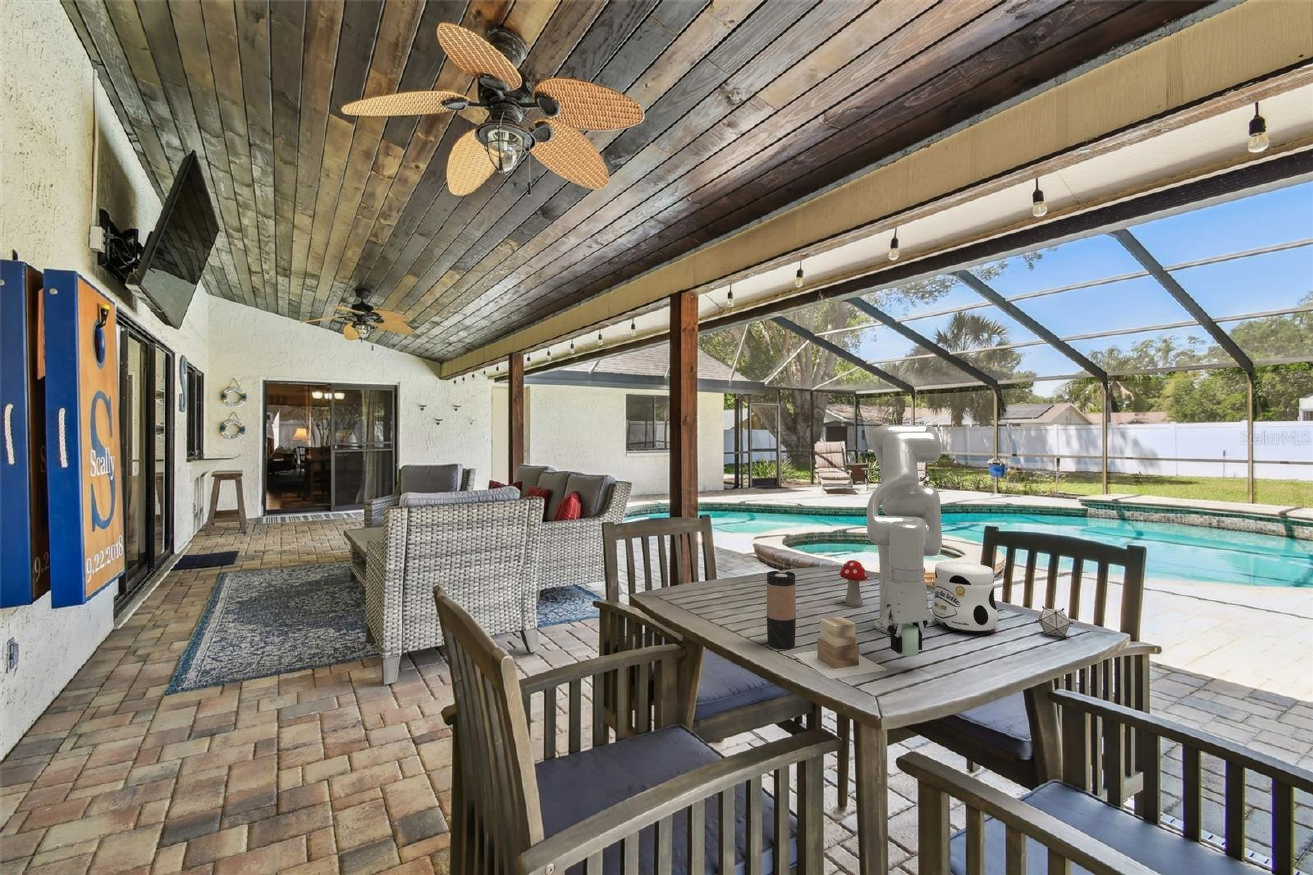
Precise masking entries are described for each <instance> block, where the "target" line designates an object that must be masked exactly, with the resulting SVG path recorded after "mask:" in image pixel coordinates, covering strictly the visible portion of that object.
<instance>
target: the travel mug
mask: <svg viewBox="0 0 1313 875" xmlns="http://www.w3.org/2000/svg"><path fill="white" fill-rule="evenodd" d="M796 596H797V595H796V573H794V572H793V571H785V572H779V571H778V570H771V571H768V572H766V631H767V632H766V635H767V645H768V646H769V647H770V648H772V649H776V650H783V651H784V650H792V649H794V648H795V646H796V624H797V622H796V621H797V619H796V617H797V615H796V614H797V613H796V612H797V611H796V610H797V607H796V606H797V605H796V602H797V601H796Z"/></svg>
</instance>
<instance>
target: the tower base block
mask: <svg viewBox="0 0 1313 875" xmlns="http://www.w3.org/2000/svg"><path fill="white" fill-rule="evenodd" d="M816 641H817V644H816V645H817V646H816V647H817V650H816V651H817V658H818V659H819V660H821V661H823V662H824V663H826V664H827V665H829V666H831V667H832V668H834V669H837V668H844V667H850V666H857V665H859V655H860V645H859V643H857V642H856V644H853V645H846V646H839V647H834V646H832V645H830V644H829V643H827V642H825V641H823V640H821V639H820V637H817V639H816Z"/></svg>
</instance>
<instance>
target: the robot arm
mask: <svg viewBox="0 0 1313 875" xmlns="http://www.w3.org/2000/svg"><path fill="white" fill-rule="evenodd" d="M870 437H871V439H870V440H871V448H872V451H873V453H874V456H875V458H876V461H877V463H878V466H879V470H880V485H879V486H878V487H877V488H876V489H875V490H874V491H873V493H872V494H871V496H870V498H869V500H868V502H867V506H866V533H867V537H868V540H869V541H870V543H872V544H874V545H876V546H877V550H878V561H879V562H878V563H879V619H877V620H875V621H874V625H873V627H874V628H875V629H876V631H879V632H880V633H884V634H887V635H890V650H891V651H893V652H894V653H896V652H897V653H899V654H898V655H900V653H902V637H901V636H900V633H901V629H902V625H903V624H911V625H914V626H916V627H918V651H922V650H923V634H924V633H925V631H926V630H925V628H926V627H927V626H928V624H929V623H930V621H931V620H932V619H933V614H932V611H930V610H929V597H928V589H927V584H926V580H925V579H924V576H925V575H924V574H925V573H927V572H926V568H925V567H924V561H925V560H924V558H925V557H936V556H938V555H940V554H941V552H942V547H943V546H942V545H943V535H942V534H943V530H942V509H941V506H942V505H941V496H940V494H939V492H938V490H937V489H936V488H935V487H933V486H931V485H925V484H924V485H919V484H920V483H919V482H920V480H919V470H918V463H936V462H938V461H939V460H940V458H941V456H942V455H941V454H942V442H941V438H940V436H939V433H938V432H937V431H936V428H934V426H932V425H929V424H890V425H889V424H888V425H887V424H886V425H881V426H880V425H879V426H877V427H875V428H874V429H872V432H871V436H870ZM880 507H881V510H882V512H883V513H884V515H880V514H879V509H880ZM895 625H896V629H895ZM897 653H896V654H897Z"/></svg>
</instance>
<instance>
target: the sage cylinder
mask: <svg viewBox="0 0 1313 875" xmlns="http://www.w3.org/2000/svg"><path fill="white" fill-rule="evenodd" d="M895 629H896V625H895ZM900 636H901V637H902V653H900V654H899V653H897V652H895V653H896V654H898V655H900V656H904V657H916V656H919V650H918V627H916V626H914V625H911V624H903V625H902V629H901V633H900Z"/></svg>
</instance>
